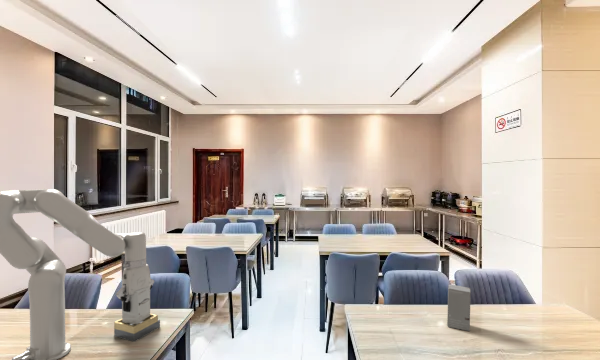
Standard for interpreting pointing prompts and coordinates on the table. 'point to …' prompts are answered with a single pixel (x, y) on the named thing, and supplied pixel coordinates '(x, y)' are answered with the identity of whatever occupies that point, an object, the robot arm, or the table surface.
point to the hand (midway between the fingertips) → (136, 306)
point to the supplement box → (137, 306)
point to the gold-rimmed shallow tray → (136, 328)
